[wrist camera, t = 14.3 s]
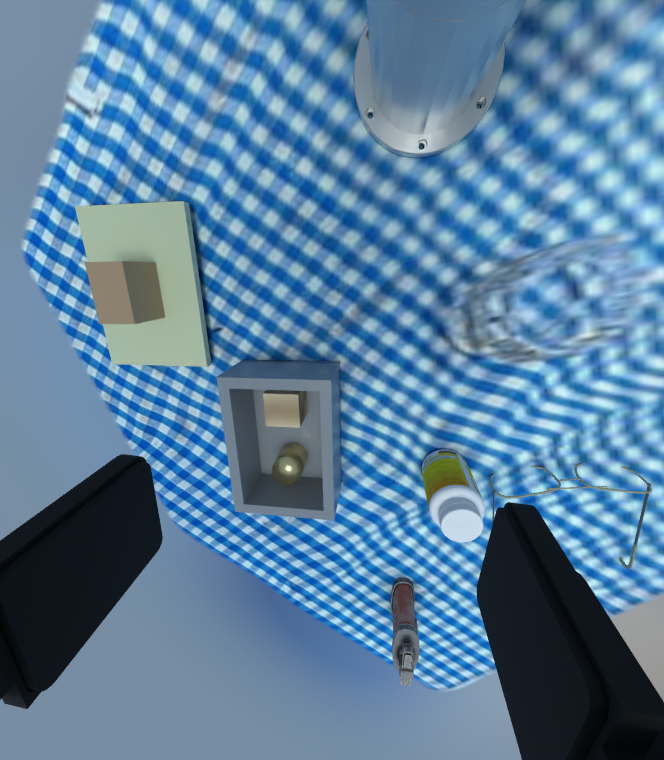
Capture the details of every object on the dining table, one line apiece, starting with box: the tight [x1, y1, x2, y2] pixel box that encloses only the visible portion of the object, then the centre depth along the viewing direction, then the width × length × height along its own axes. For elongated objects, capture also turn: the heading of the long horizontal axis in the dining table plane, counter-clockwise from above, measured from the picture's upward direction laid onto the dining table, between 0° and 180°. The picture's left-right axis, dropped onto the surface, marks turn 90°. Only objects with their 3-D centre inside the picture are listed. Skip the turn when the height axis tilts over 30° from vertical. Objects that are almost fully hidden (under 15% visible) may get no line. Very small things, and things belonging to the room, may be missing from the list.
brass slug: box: [272, 442, 308, 485], centre depth 41 cm, size 4×4×4 cm
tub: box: [217, 360, 341, 520], centre depth 39 cm, size 17×12×7 cm
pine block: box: [263, 390, 308, 428], centre depth 39 cm, size 4×4×4 cm
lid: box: [75, 201, 211, 367], centre depth 36 cm, size 18×13×8 cm
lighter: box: [391, 577, 419, 686], centre depth 45 cm, size 8×3×10 cm, turn 1°
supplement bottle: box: [422, 449, 485, 542], centre depth 37 cm, size 6×6×10 cm
